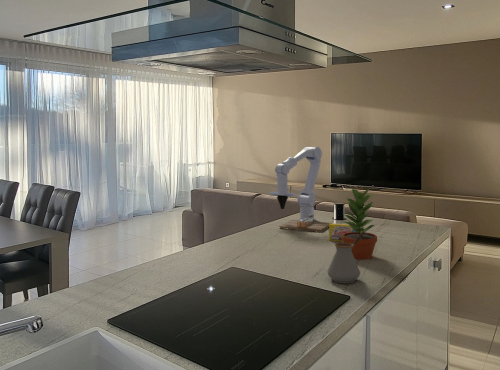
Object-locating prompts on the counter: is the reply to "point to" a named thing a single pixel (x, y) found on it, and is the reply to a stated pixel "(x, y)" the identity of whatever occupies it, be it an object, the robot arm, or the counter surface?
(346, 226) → the candy box
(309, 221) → the tongs fixed arm
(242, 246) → the counter surface
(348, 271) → the coffee pot
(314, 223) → the walnut board
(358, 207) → the potted plant
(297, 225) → the tongs swing arm
